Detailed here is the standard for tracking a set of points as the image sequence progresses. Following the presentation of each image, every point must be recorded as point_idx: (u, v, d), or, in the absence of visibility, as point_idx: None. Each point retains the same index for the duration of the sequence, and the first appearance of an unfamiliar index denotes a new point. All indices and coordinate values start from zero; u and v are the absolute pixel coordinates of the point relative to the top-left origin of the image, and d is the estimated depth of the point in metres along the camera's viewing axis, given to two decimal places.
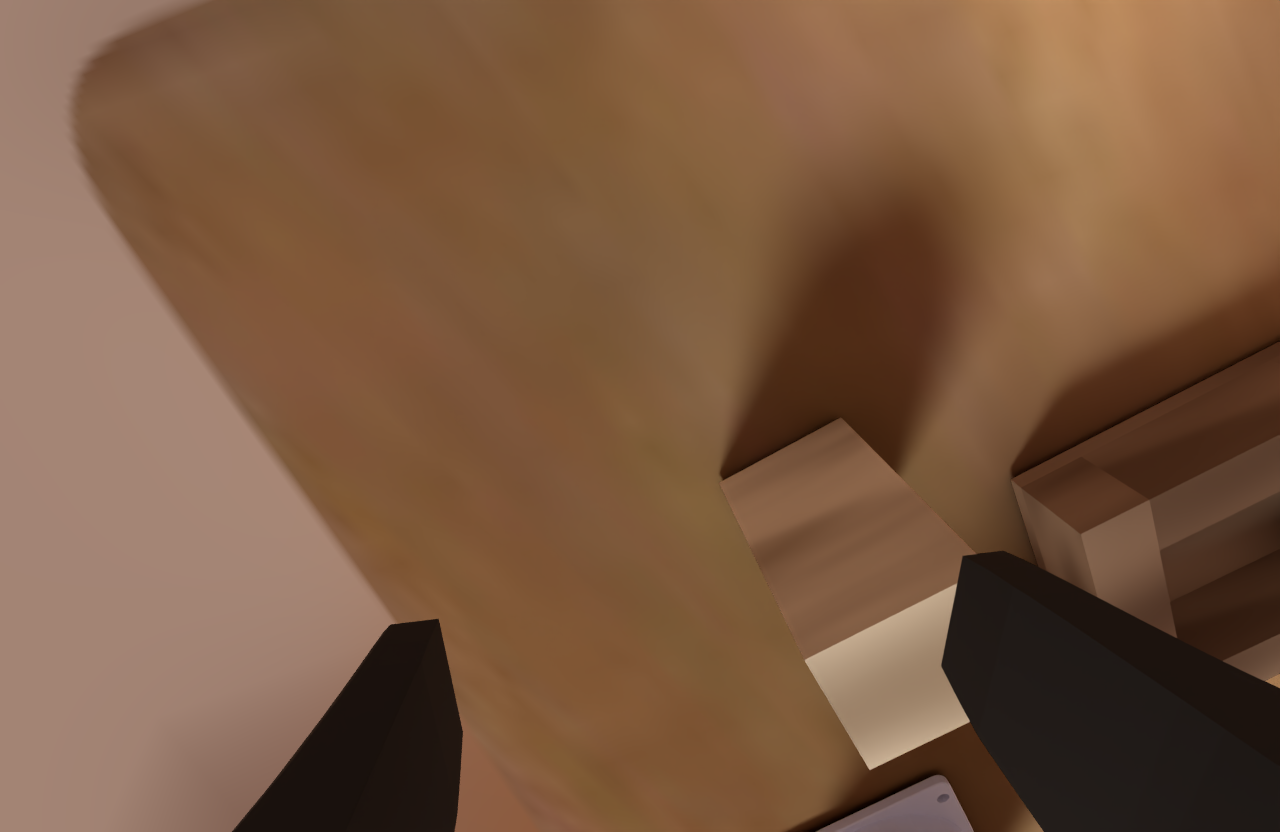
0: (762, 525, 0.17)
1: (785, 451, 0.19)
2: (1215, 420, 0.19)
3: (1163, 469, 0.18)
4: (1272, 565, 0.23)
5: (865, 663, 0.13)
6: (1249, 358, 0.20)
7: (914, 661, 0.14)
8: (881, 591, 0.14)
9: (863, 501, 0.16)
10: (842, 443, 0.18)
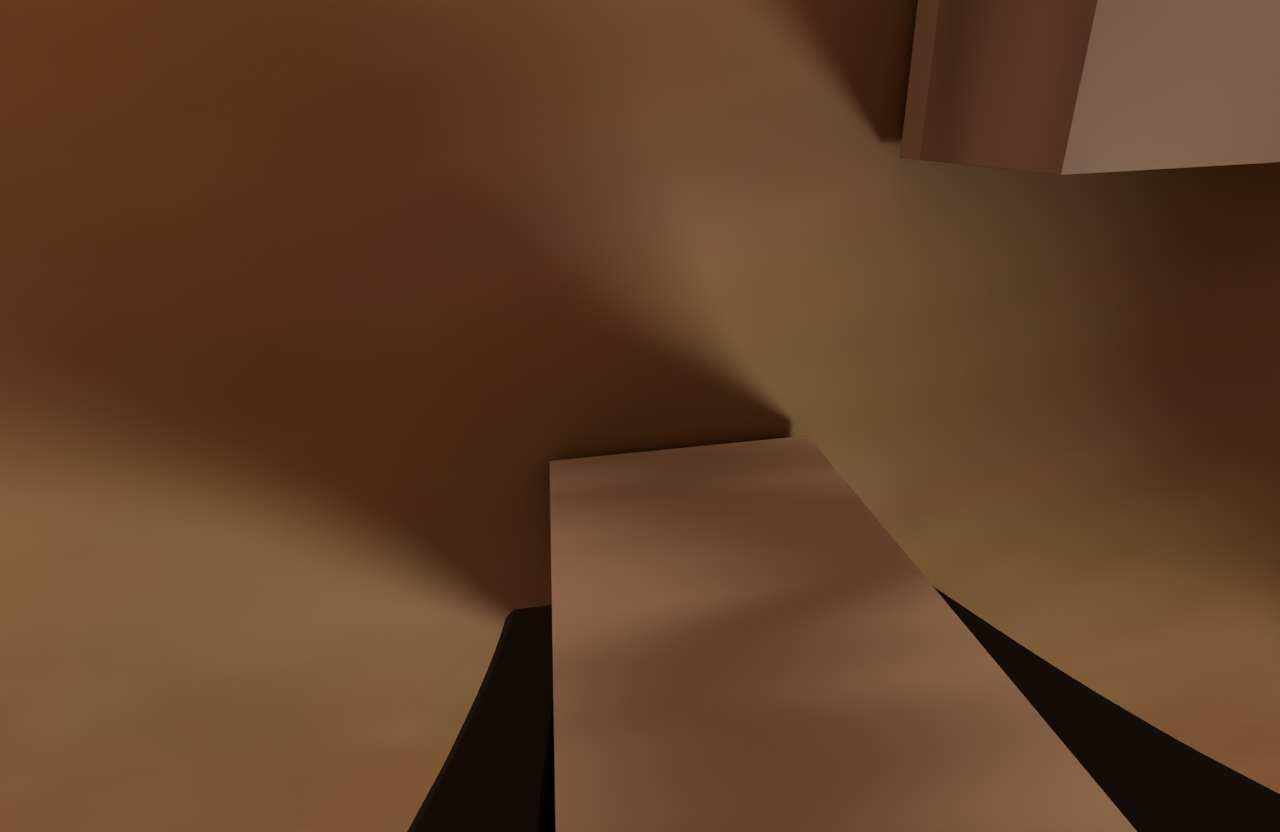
0: None
1: None
2: None
3: None
4: None
5: None
6: None
7: None
8: None
9: None
10: None
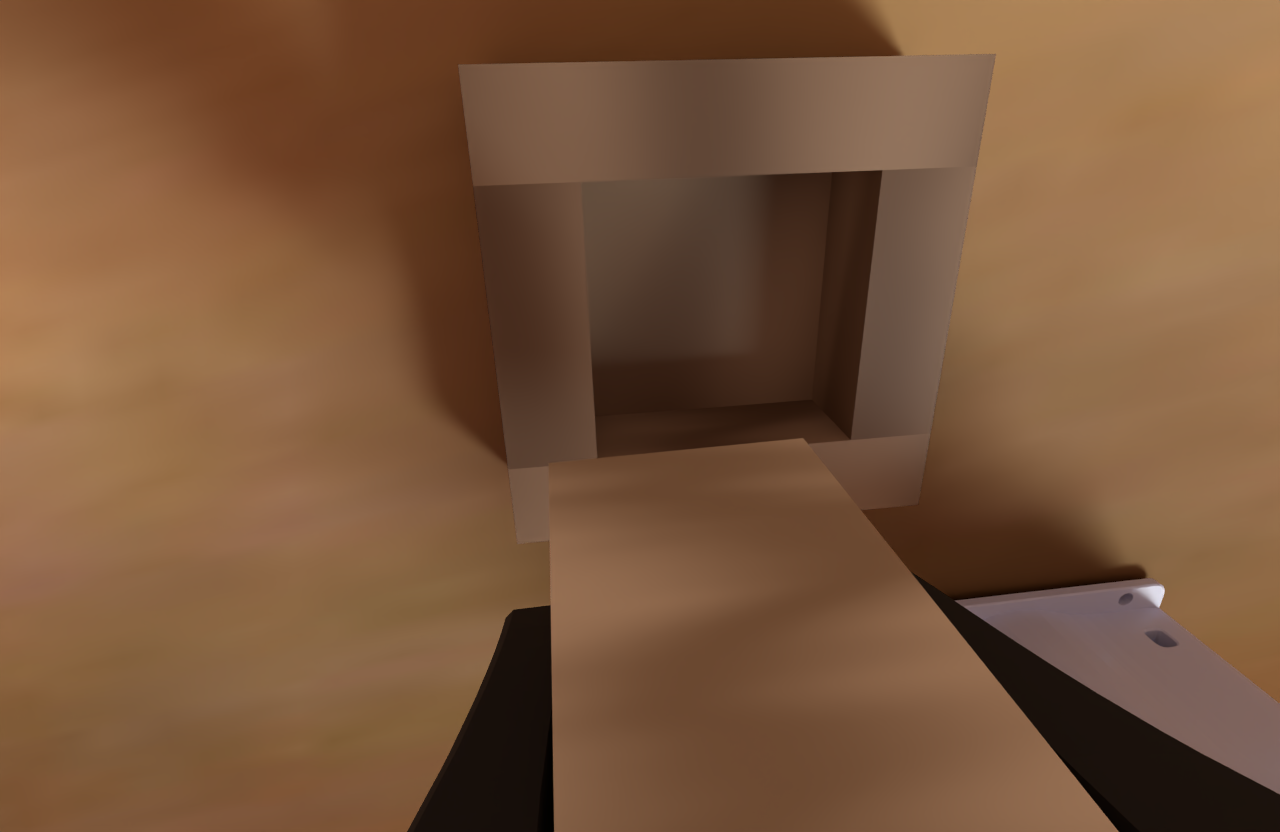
0: None
1: None
2: None
3: None
4: (836, 205, 0.15)
5: None
6: None
7: None
8: None
9: None
10: None
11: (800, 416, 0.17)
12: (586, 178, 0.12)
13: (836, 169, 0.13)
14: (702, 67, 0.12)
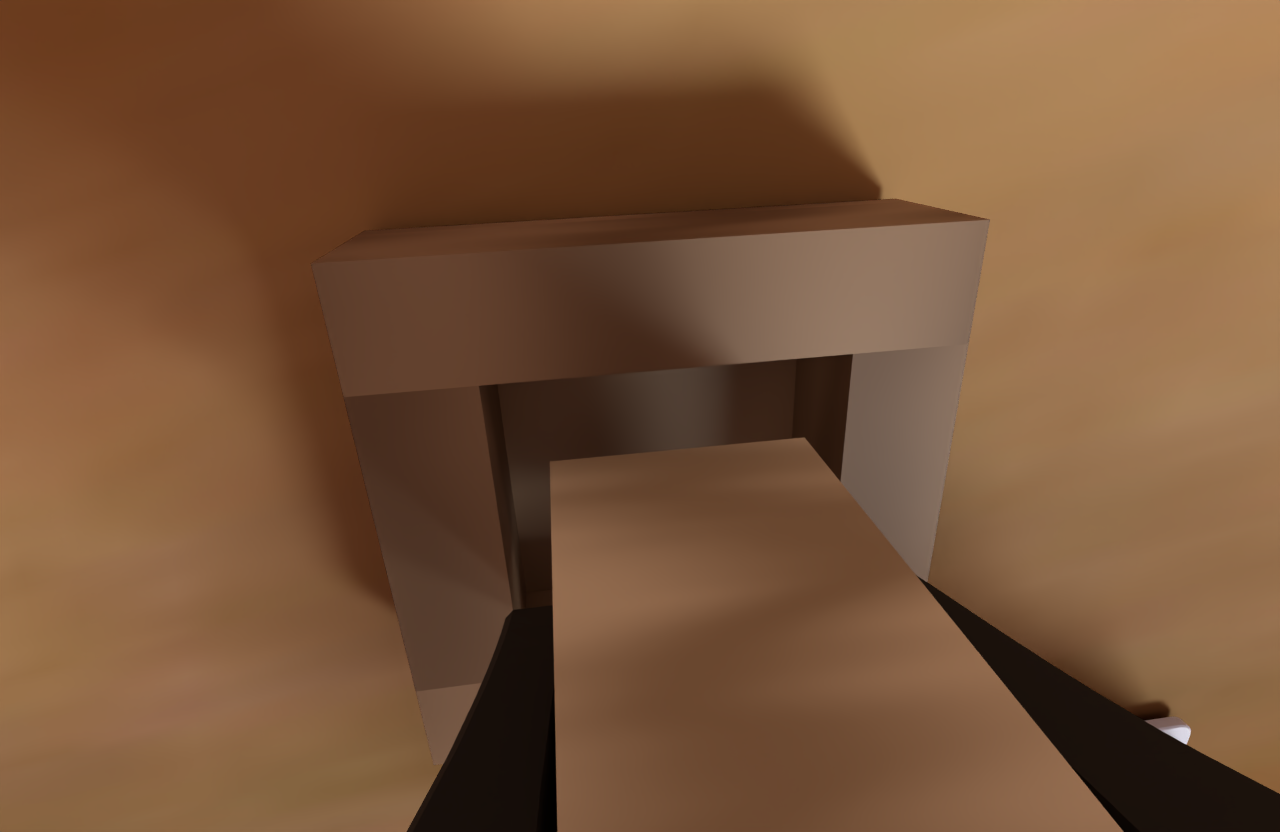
0: None
1: None
2: None
3: None
4: (804, 364, 0.13)
5: None
6: None
7: None
8: None
9: None
10: None
11: None
12: (485, 381, 0.10)
13: (796, 356, 0.11)
14: (622, 251, 0.10)
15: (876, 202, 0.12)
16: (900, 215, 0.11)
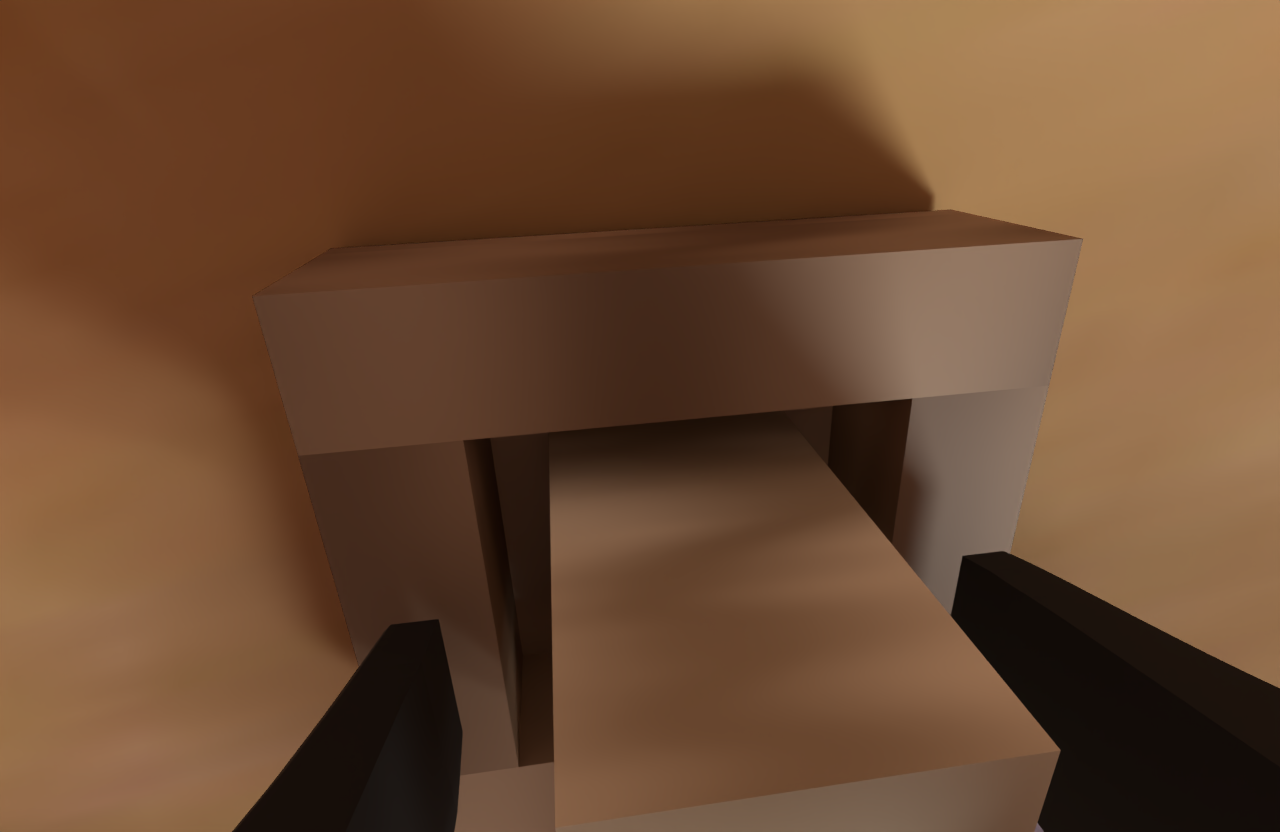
0: None
1: None
2: None
3: None
4: None
5: None
6: None
7: None
8: None
9: None
10: None
11: None
12: (471, 434, 0.08)
13: (845, 402, 0.09)
14: (639, 279, 0.08)
15: (930, 214, 0.11)
16: (968, 232, 0.09)
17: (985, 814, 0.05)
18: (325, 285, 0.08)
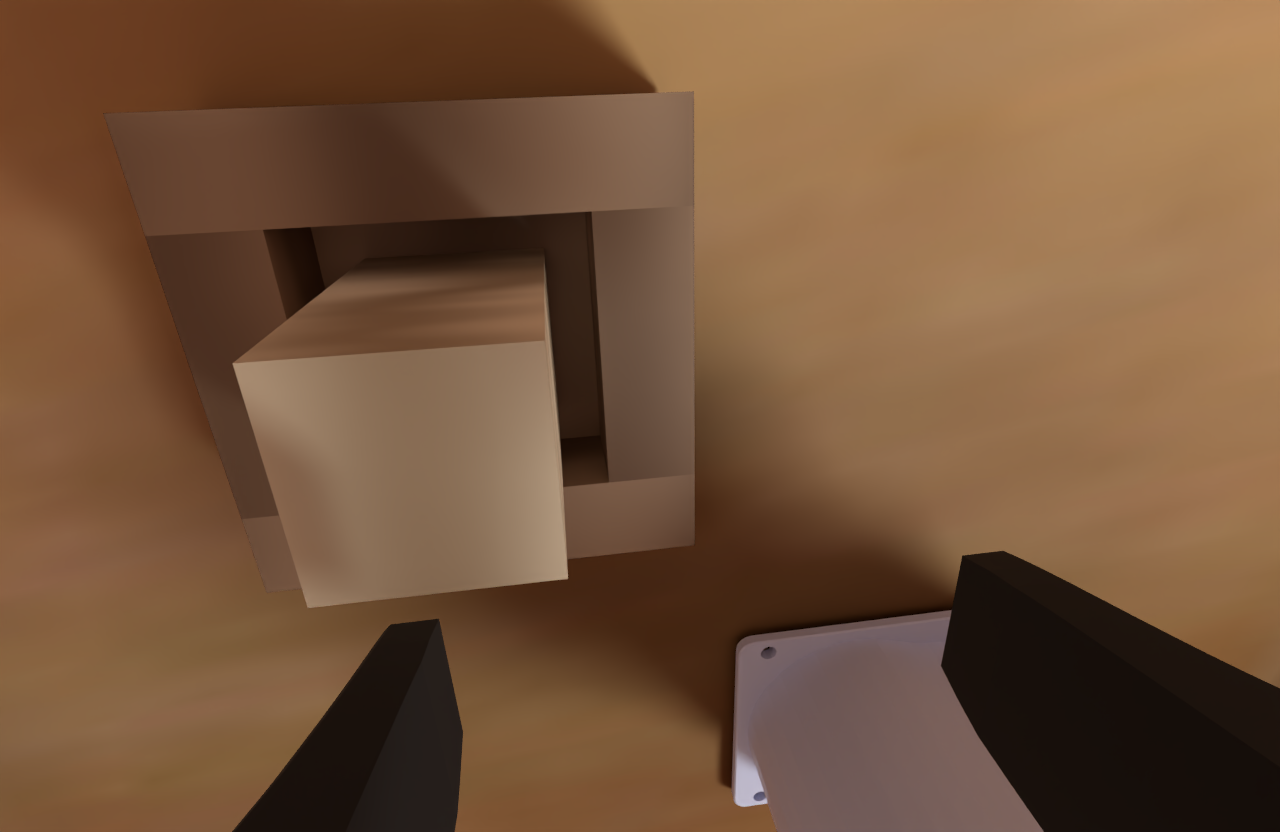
0: None
1: None
2: None
3: None
4: (588, 240, 0.15)
5: (352, 546, 0.10)
6: None
7: (381, 490, 0.10)
8: None
9: None
10: None
11: (576, 455, 0.16)
12: (268, 226, 0.12)
13: (540, 211, 0.13)
14: (374, 111, 0.12)
15: None
16: None
17: (511, 388, 0.09)
18: None
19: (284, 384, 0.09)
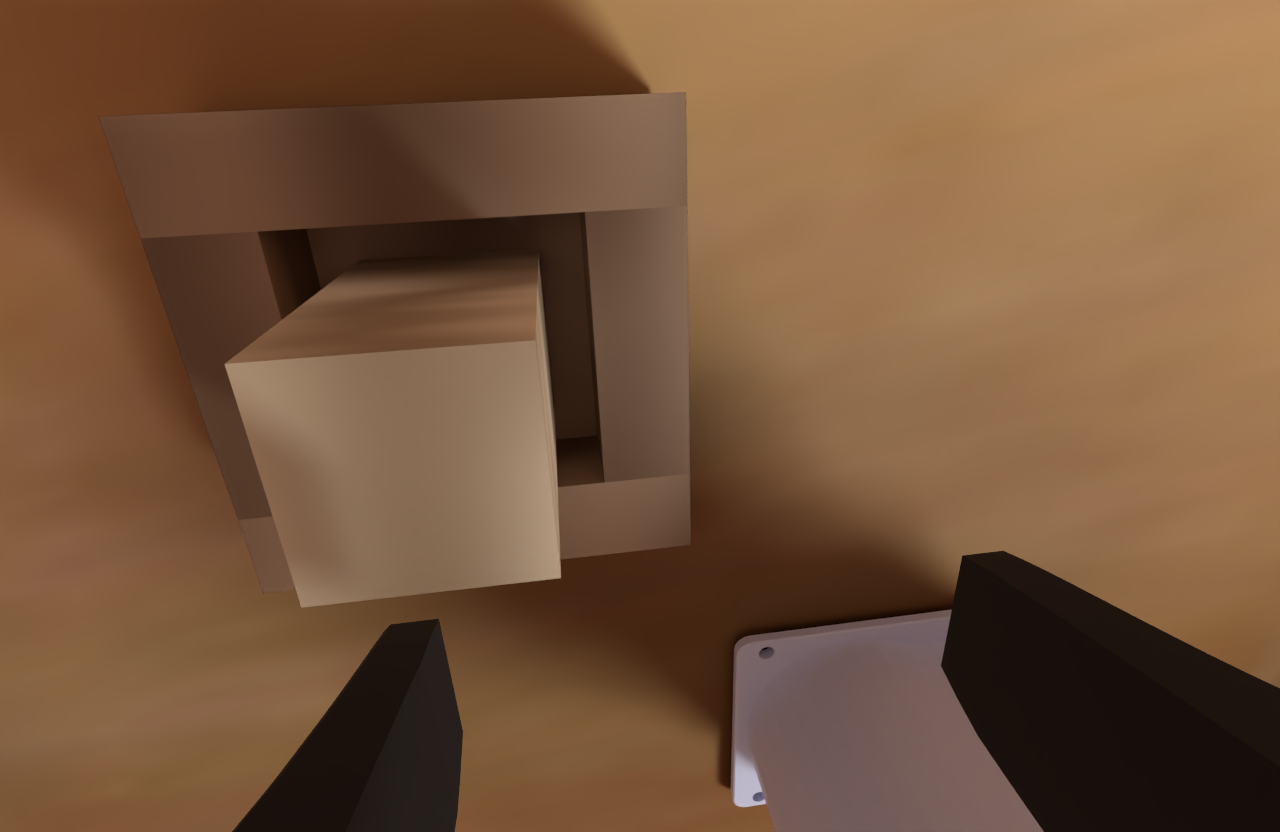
0: None
1: None
2: None
3: None
4: (582, 241, 0.15)
5: (345, 545, 0.10)
6: None
7: (374, 490, 0.10)
8: None
9: None
10: None
11: (572, 455, 0.16)
12: (263, 227, 0.12)
13: (533, 212, 0.13)
14: (367, 113, 0.12)
15: None
16: None
17: (502, 388, 0.09)
18: None
19: (276, 384, 0.09)
